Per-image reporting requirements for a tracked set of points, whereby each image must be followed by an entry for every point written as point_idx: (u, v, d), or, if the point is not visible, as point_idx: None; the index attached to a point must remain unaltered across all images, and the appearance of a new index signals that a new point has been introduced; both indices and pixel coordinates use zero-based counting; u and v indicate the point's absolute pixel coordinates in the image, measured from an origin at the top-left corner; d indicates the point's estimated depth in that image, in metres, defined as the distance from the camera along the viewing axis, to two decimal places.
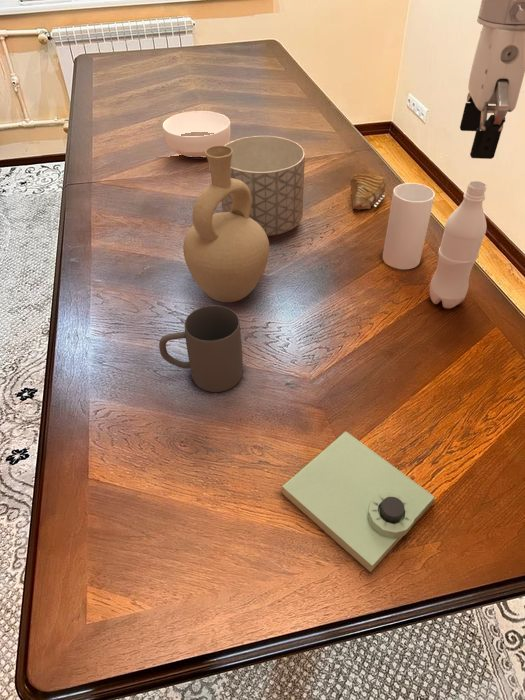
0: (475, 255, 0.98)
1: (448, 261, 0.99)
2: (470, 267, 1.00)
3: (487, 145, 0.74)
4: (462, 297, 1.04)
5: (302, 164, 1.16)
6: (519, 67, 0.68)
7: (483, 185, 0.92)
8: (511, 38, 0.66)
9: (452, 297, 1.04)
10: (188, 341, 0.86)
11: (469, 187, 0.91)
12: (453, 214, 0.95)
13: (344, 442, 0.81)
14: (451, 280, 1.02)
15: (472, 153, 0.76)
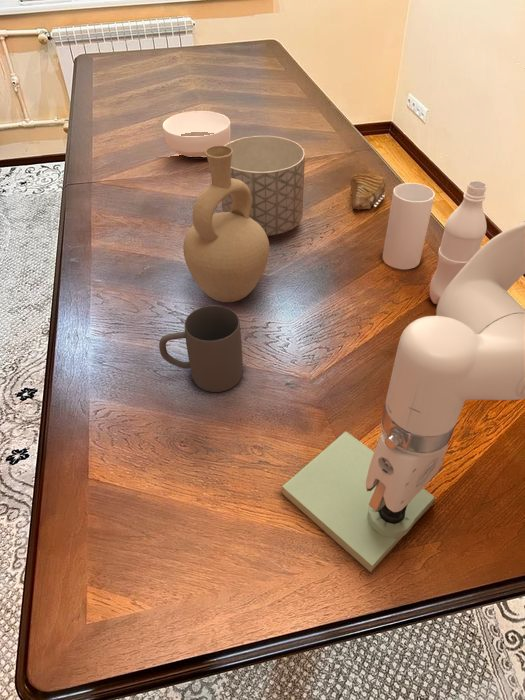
0: None
1: (448, 261, 0.99)
2: None
3: None
4: None
5: (302, 164, 1.16)
6: (394, 483, 0.58)
7: (483, 185, 0.92)
8: (387, 454, 0.57)
9: None
10: (188, 341, 0.86)
11: (469, 187, 0.91)
12: (453, 214, 0.95)
13: (344, 442, 0.81)
14: (451, 280, 1.02)
15: None
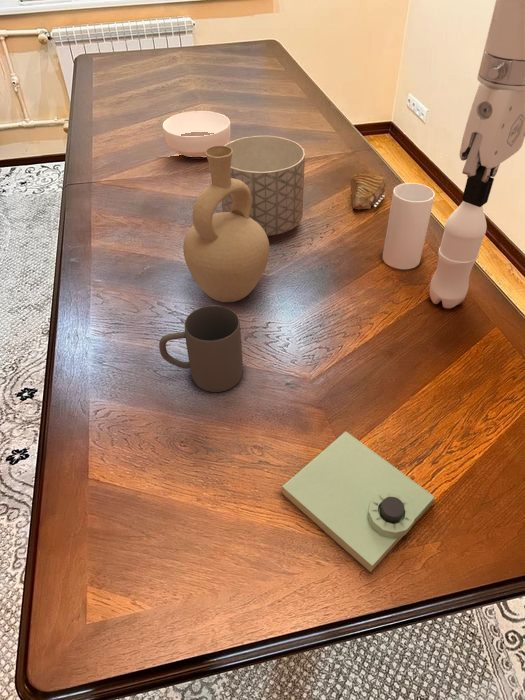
0: (475, 255, 0.98)
1: (448, 261, 0.99)
2: (470, 267, 1.00)
3: (473, 192, 0.77)
4: (462, 297, 1.04)
5: (302, 164, 1.16)
6: (492, 125, 0.67)
7: None
8: (487, 95, 0.66)
9: (452, 297, 1.04)
10: (188, 341, 0.86)
11: None
12: (453, 214, 0.95)
13: (344, 442, 0.81)
14: (451, 280, 1.02)
15: (463, 196, 0.80)
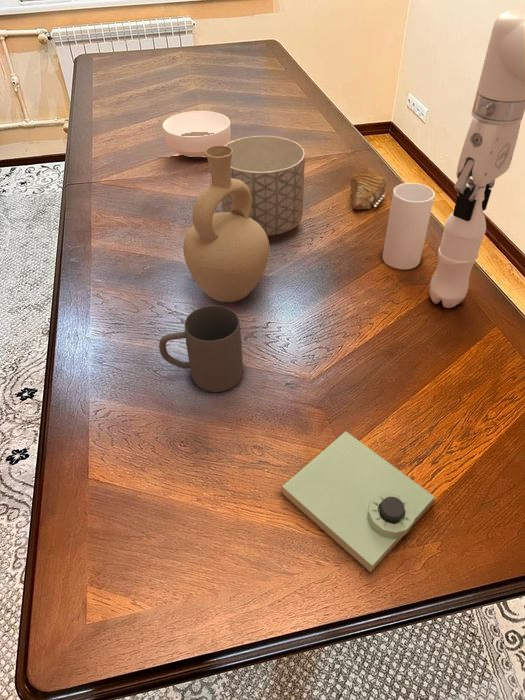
0: (475, 255, 0.98)
1: (447, 260, 0.99)
2: (470, 267, 1.00)
3: (461, 209, 0.92)
4: (462, 297, 1.04)
5: (302, 164, 1.16)
6: (482, 152, 0.83)
7: None
8: (478, 128, 0.82)
9: (452, 297, 1.04)
10: (188, 341, 0.86)
11: (468, 187, 0.91)
12: None
13: (344, 442, 0.81)
14: (451, 280, 1.02)
15: (454, 212, 0.94)
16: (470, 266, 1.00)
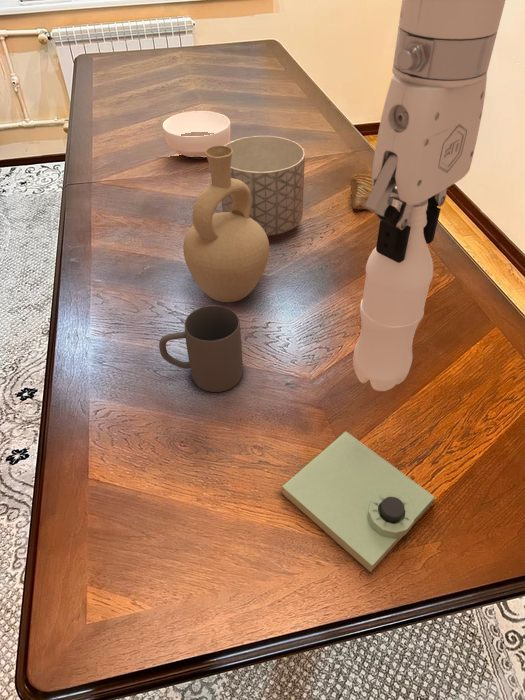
0: (416, 315, 0.59)
1: (372, 323, 0.60)
2: (410, 333, 0.61)
3: (387, 242, 0.53)
4: (401, 376, 0.65)
5: (302, 164, 1.16)
6: (410, 141, 0.44)
7: (424, 201, 0.53)
8: (401, 94, 0.43)
9: (385, 377, 0.65)
10: (188, 341, 0.86)
11: (398, 204, 0.52)
12: None
13: (344, 442, 0.81)
14: (382, 351, 0.63)
15: (377, 246, 0.55)
16: (410, 332, 0.61)
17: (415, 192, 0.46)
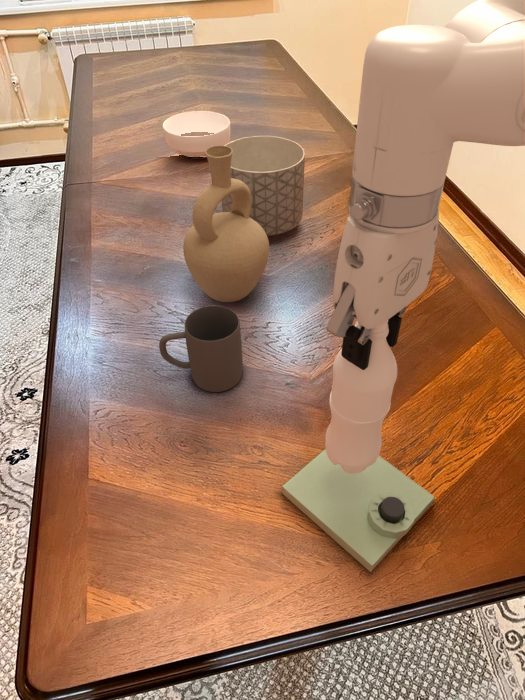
0: (382, 412, 0.61)
1: (340, 418, 0.62)
2: (377, 425, 0.63)
3: (351, 352, 0.55)
4: (371, 461, 0.68)
5: (302, 164, 1.16)
6: (365, 278, 0.46)
7: None
8: (355, 237, 0.45)
9: (356, 463, 0.67)
10: (188, 341, 0.86)
11: None
12: None
13: None
14: (351, 440, 0.65)
15: (342, 352, 0.57)
16: (377, 425, 0.63)
17: (373, 319, 0.49)
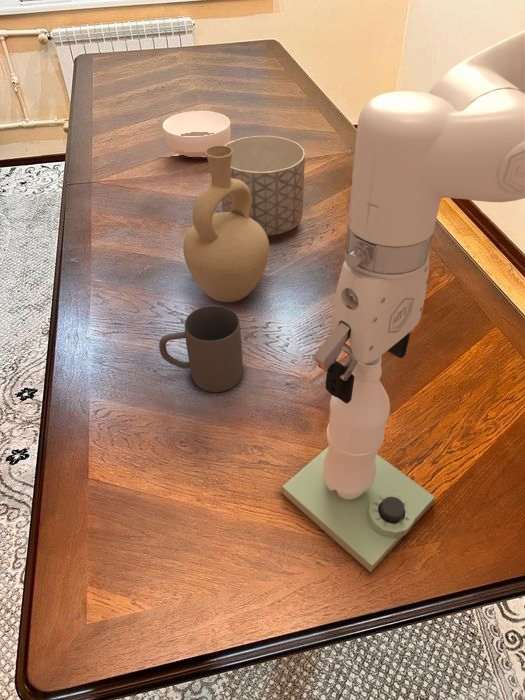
0: (376, 445, 0.66)
1: (336, 450, 0.67)
2: (371, 457, 0.68)
3: (334, 387, 0.56)
4: (366, 489, 0.72)
5: (302, 164, 1.16)
6: (360, 319, 0.49)
7: None
8: (351, 281, 0.48)
9: (351, 491, 0.71)
10: (188, 341, 0.86)
11: None
12: None
13: None
14: (347, 469, 0.70)
15: (326, 385, 0.58)
16: (371, 456, 0.67)
17: (368, 355, 0.52)
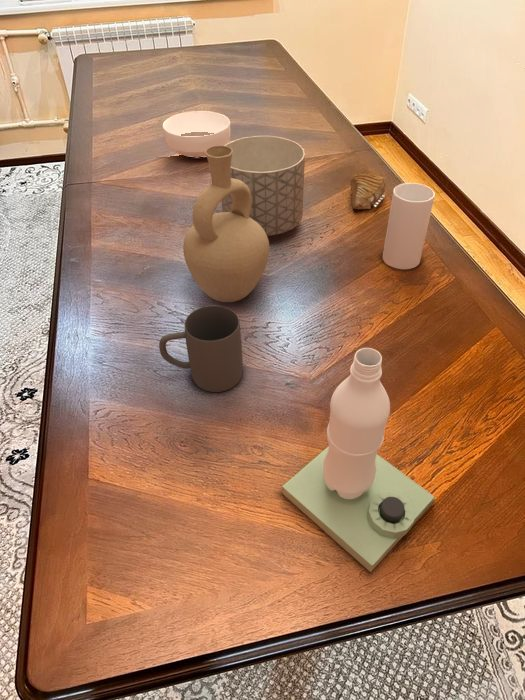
0: (376, 445, 0.66)
1: (337, 450, 0.67)
2: (371, 457, 0.68)
3: None
4: (366, 489, 0.72)
5: (302, 164, 1.16)
6: None
7: (378, 356, 0.60)
8: None
9: (351, 491, 0.71)
10: (188, 341, 0.86)
11: (355, 361, 0.59)
12: (339, 390, 0.63)
13: None
14: (347, 469, 0.70)
15: None
16: (371, 456, 0.67)
17: None
